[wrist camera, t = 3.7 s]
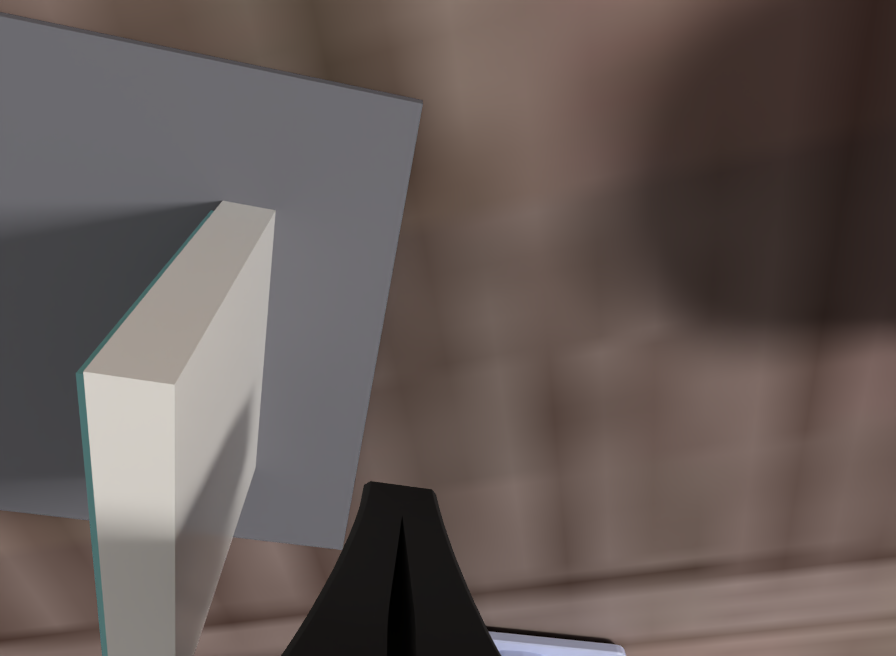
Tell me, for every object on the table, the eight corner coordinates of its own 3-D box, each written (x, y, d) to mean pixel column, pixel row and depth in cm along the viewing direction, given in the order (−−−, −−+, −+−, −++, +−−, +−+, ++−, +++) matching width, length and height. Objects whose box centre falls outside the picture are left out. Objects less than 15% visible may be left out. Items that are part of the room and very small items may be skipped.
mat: (343, 539, 21) (342, 549, 21) (-91, 488, 19) (-100, 498, 19) (423, 99, 14) (422, 104, 14) (-236, -37, 13) (-255, -38, 12)
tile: (255, 467, 19) (175, 710, 13) (206, 461, 19) (101, 705, 13) (275, 210, 15) (174, 384, 9) (213, 199, 15) (67, 369, 9)
